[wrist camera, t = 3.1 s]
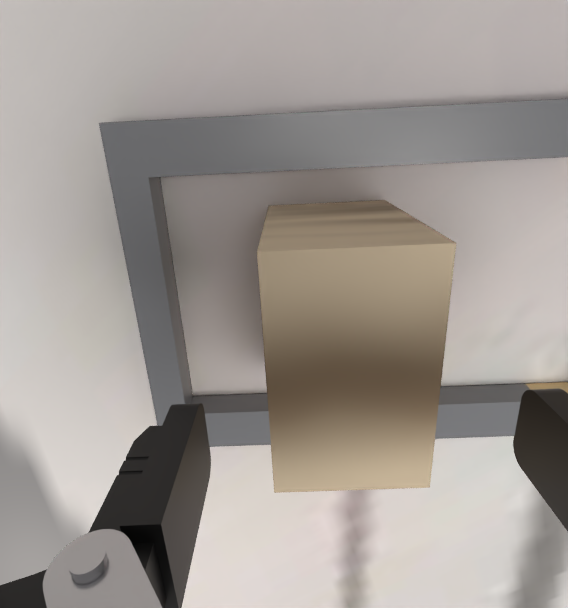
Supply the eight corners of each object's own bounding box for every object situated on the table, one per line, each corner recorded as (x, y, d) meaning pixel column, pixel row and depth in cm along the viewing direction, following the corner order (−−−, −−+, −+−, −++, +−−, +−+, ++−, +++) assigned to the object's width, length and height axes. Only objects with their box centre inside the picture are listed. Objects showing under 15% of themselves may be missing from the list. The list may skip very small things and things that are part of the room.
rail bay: (114, 124, 17) (98, 123, 15) (814, 88, 16) (864, 83, 15) (169, 428, 22) (161, 448, 21) (692, 409, 22) (720, 428, 20)
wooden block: (268, 205, 18) (257, 252, 10) (384, 199, 18) (456, 243, 10) (278, 366, 21) (274, 492, 13) (377, 362, 21) (429, 487, 13)
